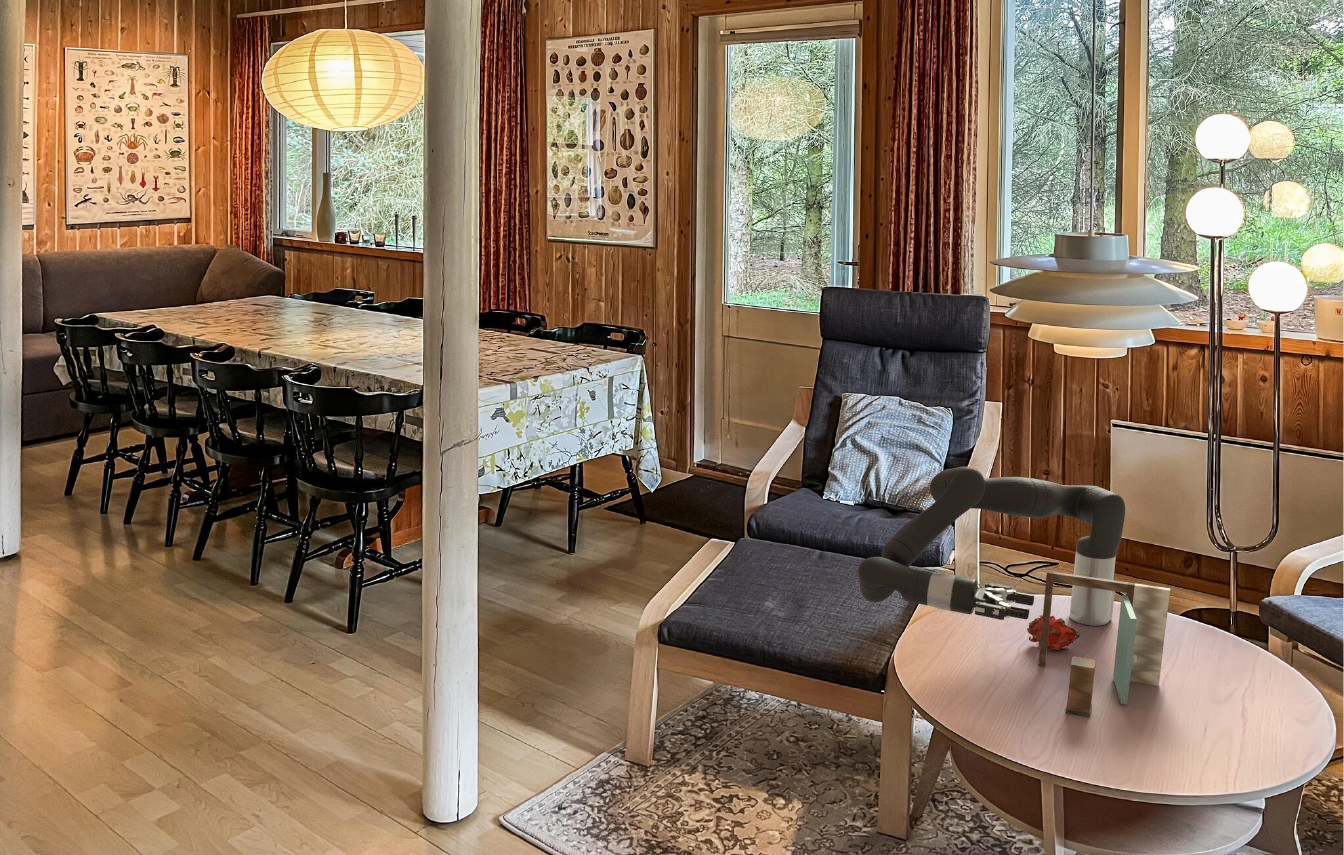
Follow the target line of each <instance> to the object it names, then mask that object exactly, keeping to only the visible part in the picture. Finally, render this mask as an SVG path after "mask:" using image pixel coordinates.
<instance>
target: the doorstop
mask: <svg viewBox="0 0 1344 855" xmlns="http://www.w3.org/2000/svg"><path fill="white" fill-rule="evenodd" d="M1096 662H1097V660H1096V659H1093V658H1088V657H1087V658H1086V657H1080V656H1077V655H1076V656H1074V655H1073V656H1072V658H1071V663H1070V669H1069V670H1070V671H1069V681H1068V691H1067V698H1066V699H1067V700H1066V706H1065V714H1067V715H1072V716H1078V717H1083V718H1089V719H1090V718H1091V714H1092V707H1093V704H1092V701H1093V693H1094V692H1093V691H1094V690H1093V689H1094V682H1095V671H1096Z"/></svg>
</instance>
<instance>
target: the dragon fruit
mask: <svg viewBox="0 0 1344 855" xmlns="http://www.w3.org/2000/svg"><path fill="white" fill-rule="evenodd" d="M1042 619H1043V614H1040V615H1039V617H1036V618H1034V620H1032V621H1031V622H1029V623H1028V627H1027V629H1026V631H1027V633H1028V634H1029V635H1030V636H1028V641H1030V642H1031V643H1038V647H1039V648H1040V641H1041V630H1042ZM1065 622H1066V621H1065V619H1063V617H1062V618H1061V617H1059V618H1056V617H1055V616H1054V615H1050V625H1049V635H1048V646H1047V652H1050V651H1051V650H1057V651H1059V652H1065V651H1069V648H1067V647H1069V646H1071V644H1074V642H1075V641H1077V640H1078V638H1080V634H1079V631H1078V630H1077V629H1076V628H1075V627H1073V626H1070V625H1068V624H1066V623H1065Z"/></svg>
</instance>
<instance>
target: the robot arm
mask: <svg viewBox="0 0 1344 855" xmlns="http://www.w3.org/2000/svg"><path fill="white" fill-rule="evenodd" d="M929 492H930V495H931V497H932V499H933V501H934V502H933V503H932V504H931V505H930V506H929V507H927V508H926V509H924V510H923V511H922V512H920V513H918V514H917V515H916V516H914V517H912V518H911V519H910V520H909V521H907V522H906V523H905V524H903V525H902V527H900V528H899V529H898V530H897V531H896V533H894V535H893V536H892V537H891V538H890V539H889V540H888V541H887V542H886V543H885V545H884V547H883V548H882V551H881V556H873V557H872V556H871V557H868V558H866V559H864V560H862V561H861V562H860V563H859V565H858V569H857V576H858V582H859V589H860V593H861V595H862V597H863V598H864V599H865V600H866V601H869V602H871V603H880V602H883V601H885V600H887V599H888V598H889V597H890V596H892V594H894V592H895V591H896V592H898V593H899V594H900V596H901V598H902V600H904V601H905V602H908V603H912V604H916V605H923V606H928V607H932V608H935V609H938V610H943V611H949V612H953V613H958V614H959V613H960V614H966V615H972V614H973V613H974V615H977V616H980V617H986V618H991V619H994V620H1000V621H1004V620H1005V619H1006V618H1009V617H1010V618H1017V619H1022V620H1028V619H1029V615H1030V609H1029V608H1028V607H1023V606H1019V605H1024V606H1025V605H1026V606H1034V602H1035V596H1034V594H1029V593H1025V592H1018V591H1017V590H1016V589H1015V587H1014V586H1010V585H1004V584H996V583H990V582H986V583H984V587H978V585H979V584H978V581H977V579H976V578H972V577H965V576H960V575H954V574H949V573H938V572H937V573H936V572H929V571H924V570H918V569H913V568H911V567H910V566H911V565H912V564H914V562H915V561H916V560H917V559H918V558H919V557H920V556H921V555H922V554H923V552H924V551H925V550H926V549H927V548H928V547H929V546H930V545H931V543H933V541H935V539H937V538H938V537H939V535H940V534H942V532H944V531H946V529H947V528H948V527H949V526H951V525H952V524H953V523H954V522H955V521H956V520H957V519H959V518H960V517H961V516H962V515H964V514H965V513H966V512H967V511H969V510H971V509H977V510H985V511H990V512H995V513H999V514H1005V515H1011V516H1016V517H1022V518H1031V519H1044V518H1048V517H1050V516H1053V515H1054V516H1055V515H1060V516H1065V517H1070V518H1074V519H1077V520H1079V521H1081V522H1084V523H1086V524H1089V525H1091V529H1090V530H1091V531H1090V534H1089V535H1088V536H1081V537H1080V538H1078V539H1077V541H1076V546H1075V547H1076V548H1075V556H1074V567H1073V568H1074V570H1073V575H1079V576H1086V577H1093V578H1100V579H1107V580H1114V575H1115V567H1116V566H1115V565H1116V558H1117V550H1118V549H1119V546H1120V544H1121V541H1122V536H1123V530H1124V526H1125V525H1124V523H1125V518H1126V504H1125V501H1124V499H1123V497H1122V496H1121V495H1119V494H1118V493H1116V492H1114V491H1110V490H1108V489H1105V488H1102V487H1100V486H1097V485H1065V484H1060V483H1057V482H1052V481H1049V480H1043V479H1037V478H1031V477H1024V476H1023V477H1021V476H1004V477H1003V476H1001V477H989V478H988V477H984V476H983V474H982V473H981V471H980V470H978V469H977V468H975V467H971V466H958V467H953V468H947V469H943V470H942V471H939V473H937V474H935V475H934V476H933V478H932V480H931V482H930V483H929ZM1115 594H1116V591H1109V590H1103V589H1096V588H1089V587H1082V586H1075V585H1072V588H1071V599H1070V608H1069V618H1070V619H1071V620H1072V621H1074V622H1075V623H1078V624H1082V625H1087V626H1094V627H1095V626H1096V627H1097V626H1105V625H1107V624H1108V623H1109V622H1110V621H1112V620H1113V612H1114V604H1115V603H1114V602H1115ZM1010 603H1014V604H1019V605H1017V606H1016V605H1013V604H1011V605H1009V604H1010Z"/></svg>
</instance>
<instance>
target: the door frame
mask: <svg viewBox="0 0 1344 855" xmlns="http://www.w3.org/2000/svg"><path fill="white" fill-rule="evenodd" d="M1045 576H1046V577H1045V588H1044V598H1043V599H1044V600H1043V609H1042V610H1043V611H1042V615H1043V619H1042V630H1041V641H1040V647H1039V654H1038V663H1037V665H1038V666H1041V667H1046V664H1047V657H1048V656H1047V655H1048V651H1047V646H1048V635H1049V625H1050V616H1051V612H1052V604H1053V603H1052V602H1053V591H1054V583H1056V584H1064V585H1070V586H1073V585H1075V586H1082V587H1089V588H1096V589H1103V590H1109V591H1115V593H1116V592H1117V593H1123V594H1125V596H1128V598H1129V601H1130V603H1131V606H1132V608H1133V611H1134V614H1135V616H1136V619H1137V620H1136V629H1135V638H1134V647H1133V655H1137V662H1136V663H1132V665H1131V674H1130V682H1132V683H1133V682H1134V683H1138V684H1144V685H1145V684H1146V685H1149V686H1151V685H1152V686H1157V687H1159V685H1160V678H1161V671H1162V670H1161V669H1162V664H1163V663H1162V661H1163V653H1164V646H1165V645H1164V644H1165V637H1166V629H1167V620H1168V619H1167V618H1168V611H1169V603H1170V602H1169V601H1170V594H1171V592H1170V591H1171V588H1168V587H1161V586H1156V585H1155V586H1154V585H1148V584H1141V583H1133V582H1126V581H1121V580H1120V581H1119V580H1114V579H1113V580H1107V579H1100V578H1093V577H1086V576H1079V575H1074V574H1071V573H1064V572H1057V571H1050V570H1046V575H1045Z"/></svg>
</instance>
